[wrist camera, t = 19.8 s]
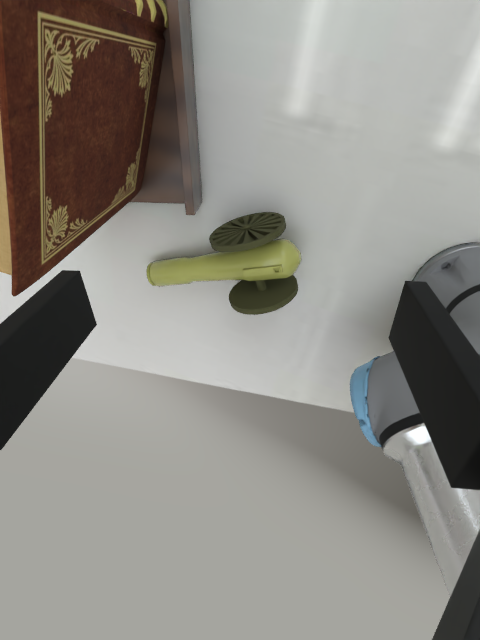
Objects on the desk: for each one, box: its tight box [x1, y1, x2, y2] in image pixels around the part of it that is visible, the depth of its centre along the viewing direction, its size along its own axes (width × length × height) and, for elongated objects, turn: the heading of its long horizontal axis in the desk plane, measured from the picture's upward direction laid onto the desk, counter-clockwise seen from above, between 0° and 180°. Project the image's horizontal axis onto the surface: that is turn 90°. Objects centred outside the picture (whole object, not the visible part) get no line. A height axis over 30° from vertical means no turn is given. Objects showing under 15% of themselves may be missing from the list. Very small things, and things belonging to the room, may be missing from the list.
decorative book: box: [0, 0, 169, 296], centre depth 32 cm, size 22×8×30 cm, turn 161°
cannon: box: [147, 212, 301, 315], centre depth 52 cm, size 25×12×11 cm, turn 105°
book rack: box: [130, 0, 202, 215], centre depth 42 cm, size 27×18×6 cm, turn 0°
